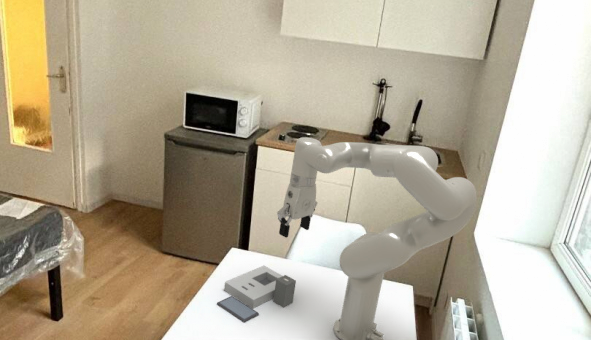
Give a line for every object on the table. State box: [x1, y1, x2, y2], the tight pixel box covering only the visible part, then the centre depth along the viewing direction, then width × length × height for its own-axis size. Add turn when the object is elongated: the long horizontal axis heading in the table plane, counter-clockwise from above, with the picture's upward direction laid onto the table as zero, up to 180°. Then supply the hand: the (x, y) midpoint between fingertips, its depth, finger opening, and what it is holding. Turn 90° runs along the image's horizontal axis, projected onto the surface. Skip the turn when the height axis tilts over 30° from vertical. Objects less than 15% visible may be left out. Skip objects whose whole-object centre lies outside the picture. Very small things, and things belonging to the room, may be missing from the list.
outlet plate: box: [223, 265, 283, 309], centre depth 157 cm, size 13×18×3 cm
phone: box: [216, 295, 260, 324], centre depth 145 cm, size 12×6×1 cm, turn 50°
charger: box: [272, 274, 297, 309], centre depth 151 cm, size 4×4×8 cm
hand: (294, 231), depth 147 cm, fingers open, 9 cm apart
